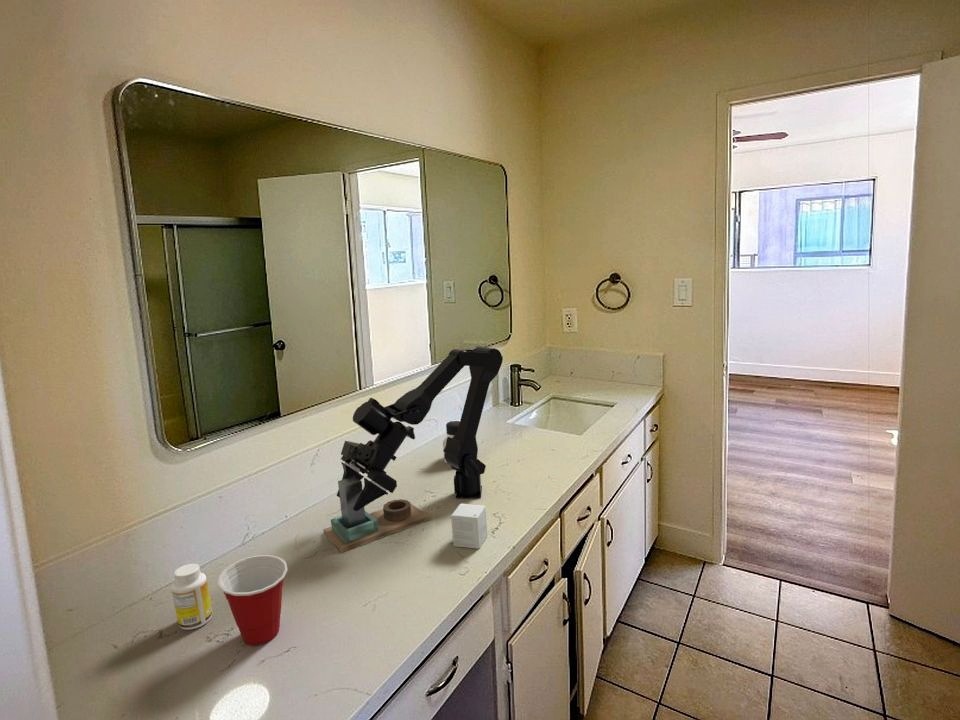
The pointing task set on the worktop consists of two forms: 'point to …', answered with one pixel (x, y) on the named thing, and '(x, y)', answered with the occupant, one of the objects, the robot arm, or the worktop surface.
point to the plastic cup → (255, 596)
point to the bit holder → (375, 524)
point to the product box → (469, 526)
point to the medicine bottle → (451, 431)
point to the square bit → (350, 502)
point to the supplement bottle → (191, 597)
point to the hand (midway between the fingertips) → (346, 503)
